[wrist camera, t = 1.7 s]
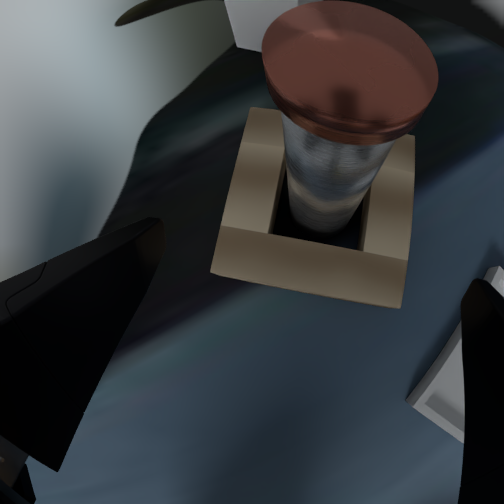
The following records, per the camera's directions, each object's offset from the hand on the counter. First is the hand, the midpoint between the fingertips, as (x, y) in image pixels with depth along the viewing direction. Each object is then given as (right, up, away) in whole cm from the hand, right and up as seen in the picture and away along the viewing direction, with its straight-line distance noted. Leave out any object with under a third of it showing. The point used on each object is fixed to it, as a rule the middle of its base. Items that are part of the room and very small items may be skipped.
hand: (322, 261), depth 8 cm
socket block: (+3, +3, +12) cm, 13 cm away
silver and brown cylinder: (+3, +3, +12) cm, 13 cm away
